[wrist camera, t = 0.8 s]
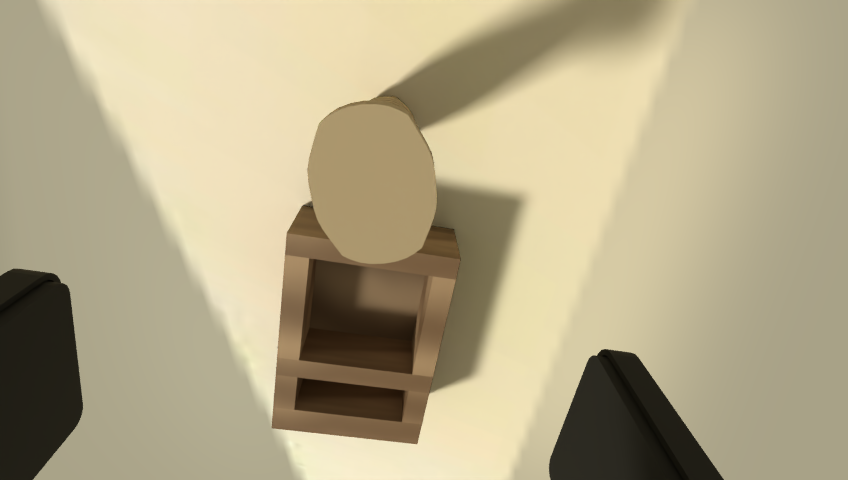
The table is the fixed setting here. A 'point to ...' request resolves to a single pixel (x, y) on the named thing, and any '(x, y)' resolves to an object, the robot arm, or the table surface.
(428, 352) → the socket block
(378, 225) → the handle
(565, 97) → the table surface
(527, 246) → the table surface
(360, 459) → the table surface
